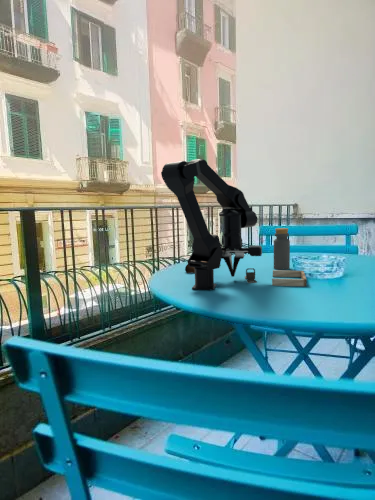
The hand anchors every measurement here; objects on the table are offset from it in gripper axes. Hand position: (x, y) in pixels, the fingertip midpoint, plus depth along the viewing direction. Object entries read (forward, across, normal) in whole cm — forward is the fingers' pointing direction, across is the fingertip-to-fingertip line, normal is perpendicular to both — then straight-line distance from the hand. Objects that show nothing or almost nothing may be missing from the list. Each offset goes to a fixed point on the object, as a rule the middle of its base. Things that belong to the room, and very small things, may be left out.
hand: (233, 276), depth 120 cm
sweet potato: (+2, +13, -18) cm, 22 cm away
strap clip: (+2, -6, 0) cm, 6 cm away
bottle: (+1, -16, -21) cm, 26 cm away
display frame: (+1, -18, 0) cm, 18 cm away
